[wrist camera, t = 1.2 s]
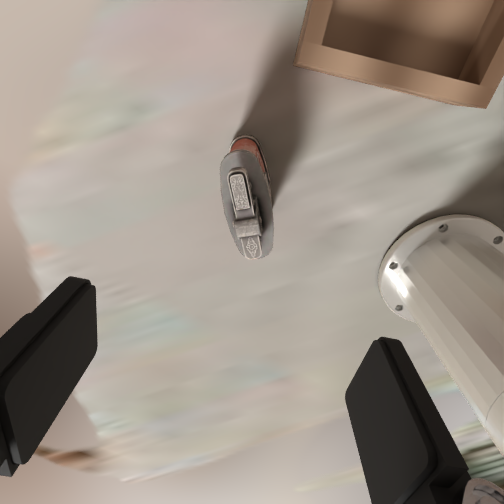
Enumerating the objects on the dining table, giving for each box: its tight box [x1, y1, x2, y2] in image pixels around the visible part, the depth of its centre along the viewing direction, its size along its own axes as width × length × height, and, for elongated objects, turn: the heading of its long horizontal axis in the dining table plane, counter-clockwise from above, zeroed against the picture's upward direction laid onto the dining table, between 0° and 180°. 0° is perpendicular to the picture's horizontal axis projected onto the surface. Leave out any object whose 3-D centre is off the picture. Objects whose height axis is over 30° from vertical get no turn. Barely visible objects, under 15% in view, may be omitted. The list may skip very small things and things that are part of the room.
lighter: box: [220, 135, 274, 259], centre depth 24 cm, size 8×3×10 cm, turn 11°
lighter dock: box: [293, 0, 504, 109], centre depth 20 cm, size 13×9×4 cm
